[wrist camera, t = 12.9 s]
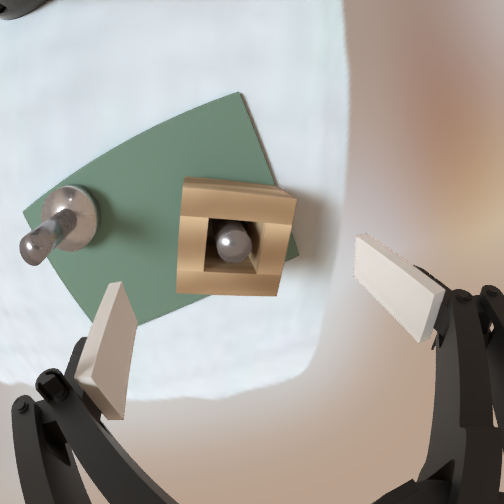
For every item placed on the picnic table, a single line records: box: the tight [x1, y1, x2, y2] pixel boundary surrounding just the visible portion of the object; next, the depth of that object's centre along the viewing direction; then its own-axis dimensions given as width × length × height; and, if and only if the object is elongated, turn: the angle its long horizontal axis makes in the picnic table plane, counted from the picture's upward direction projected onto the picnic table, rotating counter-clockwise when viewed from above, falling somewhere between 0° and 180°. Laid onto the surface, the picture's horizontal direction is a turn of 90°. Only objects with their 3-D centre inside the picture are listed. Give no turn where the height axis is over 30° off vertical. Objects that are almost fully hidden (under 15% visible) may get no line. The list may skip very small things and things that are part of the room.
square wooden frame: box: [176, 176, 297, 296], centre depth 25 cm, size 9×9×6 cm
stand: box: [20, 184, 101, 266], centre depth 21 cm, size 7×7×10 cm
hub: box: [206, 218, 252, 263], centre depth 26 cm, size 8×8×8 cm
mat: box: [23, 92, 299, 326], centre depth 29 cm, size 20×28×1 cm
